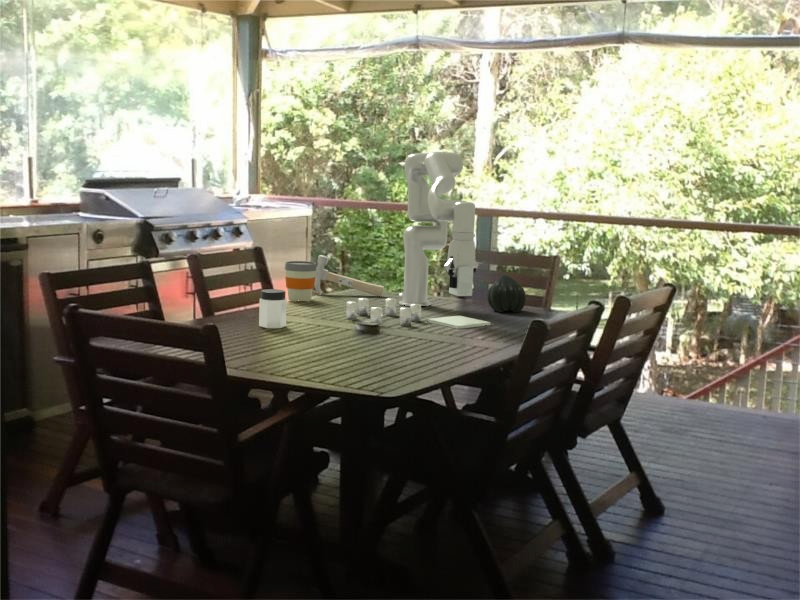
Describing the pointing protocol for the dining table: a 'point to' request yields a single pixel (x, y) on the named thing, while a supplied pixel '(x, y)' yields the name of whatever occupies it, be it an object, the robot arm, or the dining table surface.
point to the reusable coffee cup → (300, 280)
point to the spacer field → (390, 310)
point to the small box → (463, 281)
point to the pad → (458, 322)
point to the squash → (506, 295)
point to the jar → (272, 308)
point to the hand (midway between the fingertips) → (460, 286)
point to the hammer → (343, 279)
